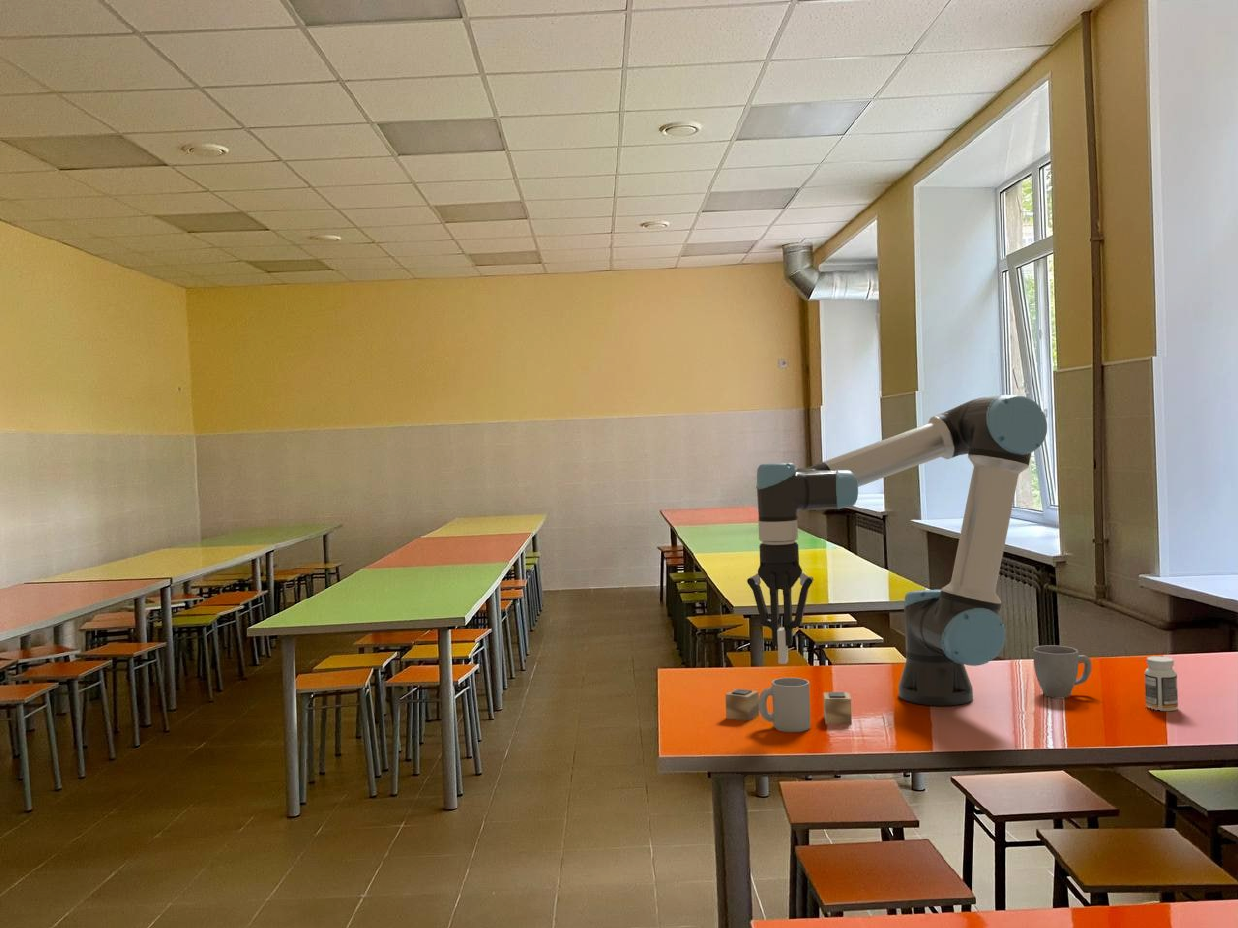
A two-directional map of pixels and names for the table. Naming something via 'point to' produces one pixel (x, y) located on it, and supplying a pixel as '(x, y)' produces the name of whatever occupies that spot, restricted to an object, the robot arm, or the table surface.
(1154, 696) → the pill bottle
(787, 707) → the cup
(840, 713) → the oak block
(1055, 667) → the mug
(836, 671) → the table surface
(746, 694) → the oak block
